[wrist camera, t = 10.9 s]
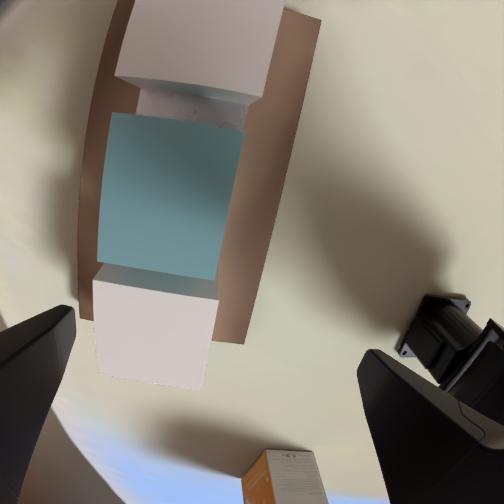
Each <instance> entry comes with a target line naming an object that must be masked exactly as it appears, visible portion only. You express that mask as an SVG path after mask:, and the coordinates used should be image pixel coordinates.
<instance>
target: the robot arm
mask: <svg viewBox="0 0 504 504" xmlns="http://www.w3.org/2000/svg"><path fill="white" fill-rule="evenodd" d="M428 300H429V301H428ZM427 301H428V302H427ZM470 305H471V302H470V301H469V300H468V299H462V298H453V297H445V296H437V295H426V296H425V297H424V298H423V300H422V303H421V305H420V307H419V309H418V311H417V314H416V316H415V318H414V320H413V322H412V324H411V326H410V328H409V331H408V333H407V335H406V337H405V339H404V341H403V343H402V345H401V347H400V349H399V350H398V354H399V356H400V357H417V359H418V360H419V361H420V363H421V364H422V365H423V366H424V368H425V369H427V370H428V371H429V372H430V374H431V375H432V376H433V378H434V379H435V380H436V382H437V383H438V384H440V385H439V387H437V386H435V385H434V384H432V383H431V382H429V381H427V380H426V379H424V378H423V377H421V376H420V375H418V374H417V373H415V372H414V371H412V370H410V369H409V368H407V367H406V366H404V365H403V364H401V363H400V362H398V361H397V360H395V359H393V358H392V357H390V356H389V355H387V354H386V353H384V352H383V351H381V350H379V349H369V350H367V351H366V353H365V355H364V357H363V359H362V361H361V363H360V365H359V367H358V369H357V378H358V383H359V388H360V393H361V398H362V403H363V408H364V412H365V416H366V420H367V423H368V426H369V429H370V433H371V436H372V439H373V443H374V446H375V450H376V453H377V457H378V460H379V464H380V467H381V471H382V474H383V478H384V481H385V485H386V489H387V493H388V496H389V500H390V504H504V328H503V327H502V326H500V325H499V324H498V323H496V322H495V321H494V320H492V319H491V318H490V319H489V321H488V322H487V325H486V327H485V328H484V330H482V329H481V328H480V327H479V326H478V325H477V324H476V323H475V322H474V321H473V320H471V319H470V318H469V317H468V316H467V315H466V314H467V312H468V310H469V308H470ZM75 337H76V320H75V310H74V308H73V307H71V306H67V305H59V306H56V307H54V308H52V309H50V310H47V311H45V312H43V313H41V314H38V315H36V316H34V317H32V318H30V319H27V320H25V321H23V322H21V323H19V324H16V325H14V326H12V327H10V328H8V329H6V330H3V331H1V332H0V504H17V503H18V497H19V495H20V492H21V488H22V485H23V482H24V479H25V475H26V472H27V469H28V466H29V463H30V460H31V457H32V454H33V451H34V448H35V446H36V443H37V440H38V438H39V435H40V432H41V430H42V427H43V424H44V422H45V419H46V417H47V414H48V412H49V409H50V407H51V404H52V402H53V400H54V397H55V395H56V392H57V390H58V388H59V385H60V383H61V380H62V378H63V375H64V372H65V368H66V365H67V362H68V359H69V356H70V353H71V350H72V347H73V344H74V341H75Z"/></svg>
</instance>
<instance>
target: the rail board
mask: <svg viewBox="0 0 504 504" xmlns="http://www.w3.org/2000/svg"><path fill="white" fill-rule="evenodd" d="M134 3H135V0H118V2H117V5H116V8H115V11H114V14H113V17H112V20H111V24H110V27H109V30H108V34H107V37H106V41H105V45H104V48H103V52H102V56H101V60H100V64H99V69H98V73H97V78H96V82H95V87H94V92H93V97H92V102H91V108H90V113H89V119H88V126H87V132H86V139H85V147H84V155H83V164H82V173H81V184H80V198H79V215H78V296H79V314H80V318H81V319H86V320H91V321H94V314H93V279H94V277H95V276H96V274H97V273H98V271H99V270H100V268H101V267H102V265H103V264H104V262H98V261H97V249H98V227H99V212H100V200H101V189H102V179H103V170H104V162H105V155H106V147H107V141H108V134H109V128H110V122H111V116H112V112H115V113H125V114H135V115H136V110H137V104H138V100H139V95H140V90H141V88H139V87H137V86H135V85H133V84H131V83H129V82H127V81H125V80H122V79H120V78H118V77H116V76H114V75H115V71H116V67H117V63H118V58H119V55H120V51H121V47H122V43H123V39H124V36H125V32H126V29H127V25H128V22H129V19H130V16H131V12H132V9H133V6H134ZM320 25H321V20H319V19H316V18H313V17H310V16H307V15H303V14H300V13H296V12H293V11H289V10H285V9H283V12H282V16H281V20H280V24H279V28H278V32H277V37H276V41H275V45H274V49H273V53H272V57H271V61H270V66H269V70H268V74H267V78H266V83H265V87H264V91H263V96H262V97H261V98H260V99H258V100H256V101H255V102H253V103H251V104H250V105H249V107H248V111H247V116H246V120H245V125H244V129H243V132H245V134H244V139H243V144H242V148H241V153H240V157H239V162H238V167H237V171H236V176H235V181H234V185H233V190H232V195H231V200H230V205H229V210H228V215H227V219H226V224H225V229H224V234H223V240H222V245H221V250H220V255H219V260H218V289H219V303H218V308H217V314H216V319H215V324H214V329H213V335H212V340H211V341H219V342H227V343H236V344H244V342H245V338H246V334H247V330H248V326H249V323H250V319H251V315H252V311H253V307H254V303H255V299H256V295H257V291H258V287H259V283H260V279H261V275H262V271H263V267H264V263H265V259H266V255H267V251H268V247H269V243H270V239H271V235H272V231H273V227H274V223H275V218H276V214H277V210H278V206H279V202H280V198H281V194H282V190H283V185H284V181H285V177H286V173H287V169H288V164H289V160H290V156H291V152H292V148H293V143H294V139H295V135H296V130H297V126H298V122H299V118H300V113H301V109H302V105H303V100H304V96H305V92H306V87H307V83H308V78H309V74H310V69H311V65H312V61H313V56H314V52H315V47H316V43H317V38H318V34H319V29H320Z"/></svg>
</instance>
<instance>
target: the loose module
mask: <svg viewBox="0 0 504 504" xmlns="http://www.w3.org/2000/svg"><path fill="white" fill-rule="evenodd" d="M244 134H245V132H243V131H238V130H233V129H228V128H222V127H217V126H211V125H206V124H200V123H194V122H187V121H181V120H174V119H167V118H160V117H152V116H144V115H135V114H125V113H115V112H112V116H111V122H110V128H109V134H108V141H107V147H106V155H105V162H104V170H103V179H102V189H101V200H100V212H99V227H98V249H97V261H98V262H104V263H109V264H115V265H121V266H126V267H132V268H138V269H144V270H150V271H156V272H162V273H168V274H175V275H181V276H187V277H194V278H200V279H207V280H213V281H215V276H216V271H217V265H218V260H219V255H220V250H221V245H222V240H223V234H224V229H225V224H226V219H227V215H228V210H229V205H230V200H231V195H232V190H233V185H234V181H235V176H236V171H237V167H238V162H239V157H240V153H241V148H242V144H243V139H244Z"/></svg>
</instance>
